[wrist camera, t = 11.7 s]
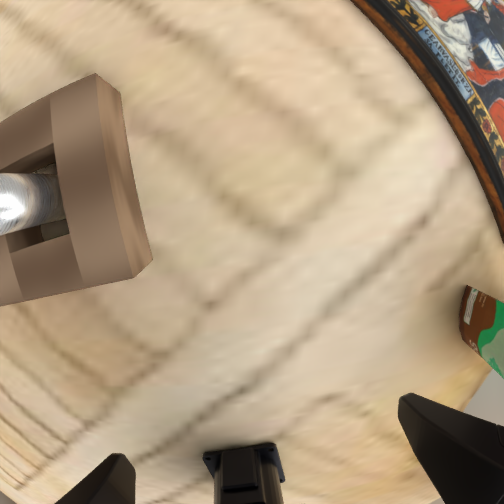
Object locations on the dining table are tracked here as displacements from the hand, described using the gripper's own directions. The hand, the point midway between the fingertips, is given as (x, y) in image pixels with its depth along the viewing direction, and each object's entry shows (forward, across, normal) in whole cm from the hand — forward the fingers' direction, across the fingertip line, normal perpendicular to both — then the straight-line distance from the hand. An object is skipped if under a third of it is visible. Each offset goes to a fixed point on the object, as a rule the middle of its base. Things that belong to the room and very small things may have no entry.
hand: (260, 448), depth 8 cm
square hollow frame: (+12, +10, -10) cm, 18 cm away
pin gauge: (+12, +10, -10) cm, 19 cm away
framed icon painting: (+12, -32, -20) cm, 40 cm away
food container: (+12, -20, +9) cm, 25 cm away
